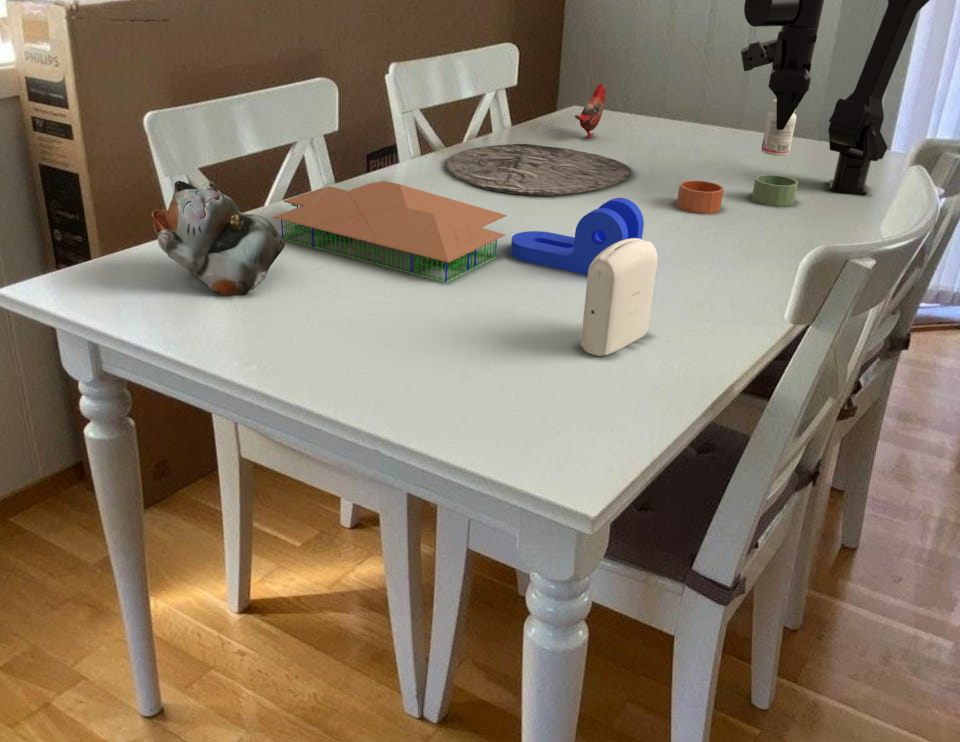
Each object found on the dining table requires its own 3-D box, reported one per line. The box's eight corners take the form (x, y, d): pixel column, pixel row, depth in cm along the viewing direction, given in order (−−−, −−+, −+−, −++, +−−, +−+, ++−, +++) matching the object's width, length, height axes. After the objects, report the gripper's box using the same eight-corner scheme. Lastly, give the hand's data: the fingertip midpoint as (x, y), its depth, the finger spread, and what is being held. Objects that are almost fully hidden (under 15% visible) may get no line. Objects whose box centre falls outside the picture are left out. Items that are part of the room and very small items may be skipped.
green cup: (752, 192, 183) (756, 172, 181) (794, 197, 181) (798, 177, 180) (750, 203, 177) (754, 182, 175) (793, 208, 175) (797, 187, 174)
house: (354, 200, 167) (354, 149, 163) (531, 242, 153) (535, 187, 149) (259, 235, 150) (255, 179, 146) (447, 285, 136) (449, 225, 132)
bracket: (638, 264, 147) (646, 202, 142) (617, 281, 140) (625, 216, 136) (525, 241, 153) (530, 180, 149) (500, 256, 147) (504, 193, 142)
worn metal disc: (413, 178, 180) (413, 175, 180) (487, 139, 208) (487, 137, 207) (595, 206, 170) (595, 204, 170) (646, 161, 198) (647, 159, 198)
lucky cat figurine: (246, 304, 127) (179, 207, 119) (183, 319, 134) (116, 229, 126) (303, 238, 136) (245, 144, 128) (242, 256, 143) (182, 168, 135)
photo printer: (604, 360, 118) (617, 256, 111) (574, 349, 120) (585, 246, 114) (652, 336, 125) (666, 236, 118) (622, 326, 127) (635, 228, 120)
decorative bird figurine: (606, 132, 218) (611, 83, 213) (578, 149, 205) (583, 96, 199) (593, 130, 219) (598, 81, 214) (565, 147, 205) (569, 94, 200)
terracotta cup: (679, 198, 177) (682, 178, 175) (721, 204, 176) (725, 183, 174) (674, 210, 171) (677, 189, 169) (718, 215, 170) (722, 194, 168)
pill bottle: (764, 148, 177) (773, 96, 172) (791, 152, 175) (802, 100, 171) (757, 153, 173) (767, 101, 169) (785, 157, 171) (796, 105, 167)
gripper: (752, 14, 173) (735, 111, 181) (746, 27, 158) (727, 132, 166) (819, 20, 171) (799, 118, 179) (820, 34, 155) (798, 140, 164)
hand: (780, 126), depth 172 cm, fingers closed on pill bottle, 5 cm apart
